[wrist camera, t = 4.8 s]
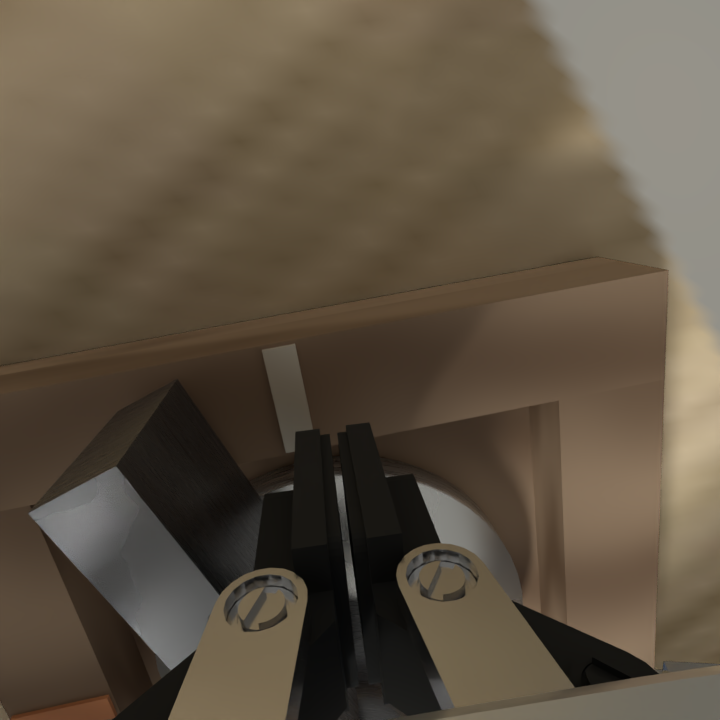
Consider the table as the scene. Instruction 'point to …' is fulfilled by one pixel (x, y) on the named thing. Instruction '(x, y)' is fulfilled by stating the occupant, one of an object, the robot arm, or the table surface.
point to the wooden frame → (393, 440)
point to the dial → (208, 527)
